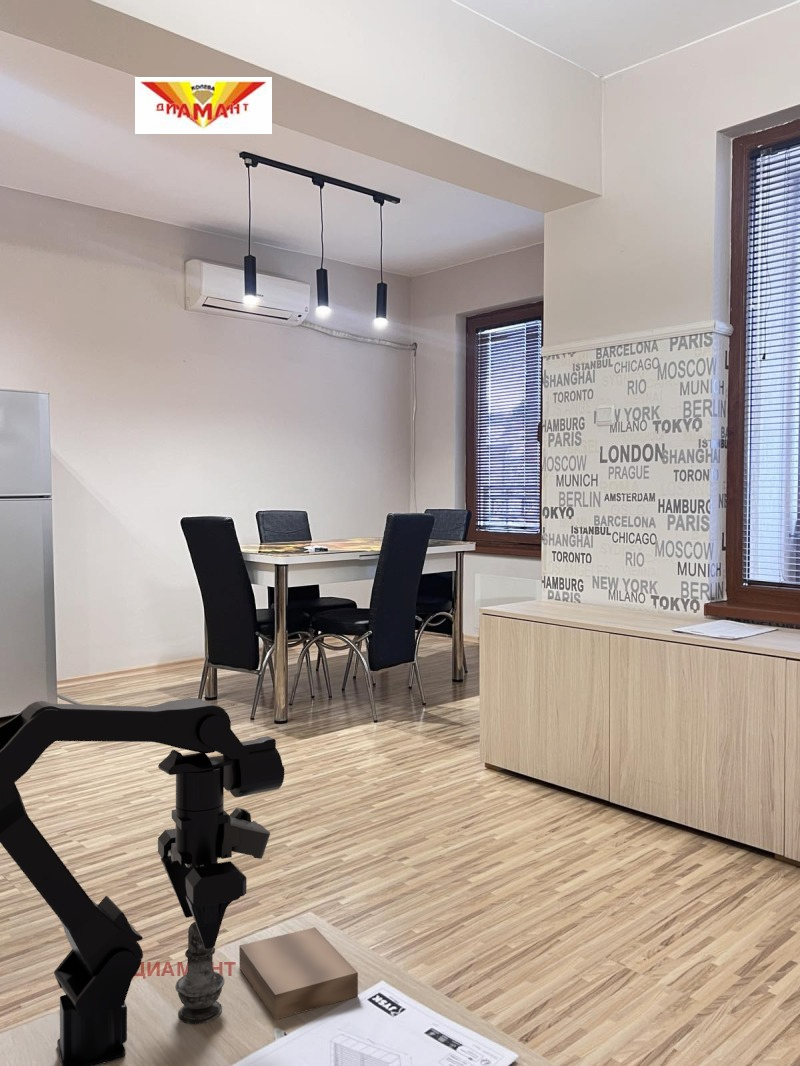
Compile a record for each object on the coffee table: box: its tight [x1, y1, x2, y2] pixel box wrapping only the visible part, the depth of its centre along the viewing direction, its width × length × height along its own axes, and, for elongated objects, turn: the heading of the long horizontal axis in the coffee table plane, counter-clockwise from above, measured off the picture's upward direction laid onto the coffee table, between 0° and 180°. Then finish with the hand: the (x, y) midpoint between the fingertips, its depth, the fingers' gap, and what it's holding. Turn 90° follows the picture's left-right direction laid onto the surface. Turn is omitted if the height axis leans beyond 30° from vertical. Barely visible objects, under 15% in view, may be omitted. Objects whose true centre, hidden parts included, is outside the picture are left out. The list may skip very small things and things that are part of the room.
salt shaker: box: [175, 921, 226, 1025], centre depth 105 cm, size 6×6×12 cm
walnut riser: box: [238, 927, 359, 1020], centre depth 112 cm, size 11×14×3 cm
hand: (199, 931), depth 104 cm, fingers open, 9 cm apart
